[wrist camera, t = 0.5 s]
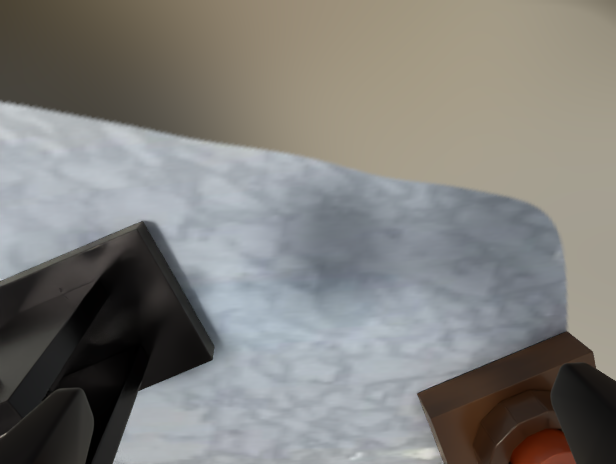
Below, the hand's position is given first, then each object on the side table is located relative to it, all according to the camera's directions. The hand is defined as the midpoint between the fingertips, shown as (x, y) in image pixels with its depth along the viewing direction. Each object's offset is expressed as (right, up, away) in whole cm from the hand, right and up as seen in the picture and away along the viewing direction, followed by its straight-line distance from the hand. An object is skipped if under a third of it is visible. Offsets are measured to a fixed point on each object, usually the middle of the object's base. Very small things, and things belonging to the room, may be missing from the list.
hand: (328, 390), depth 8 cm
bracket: (-12, -2, +15) cm, 19 cm away
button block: (+12, -8, +20) cm, 25 cm away
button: (+13, -10, +17) cm, 23 cm away
